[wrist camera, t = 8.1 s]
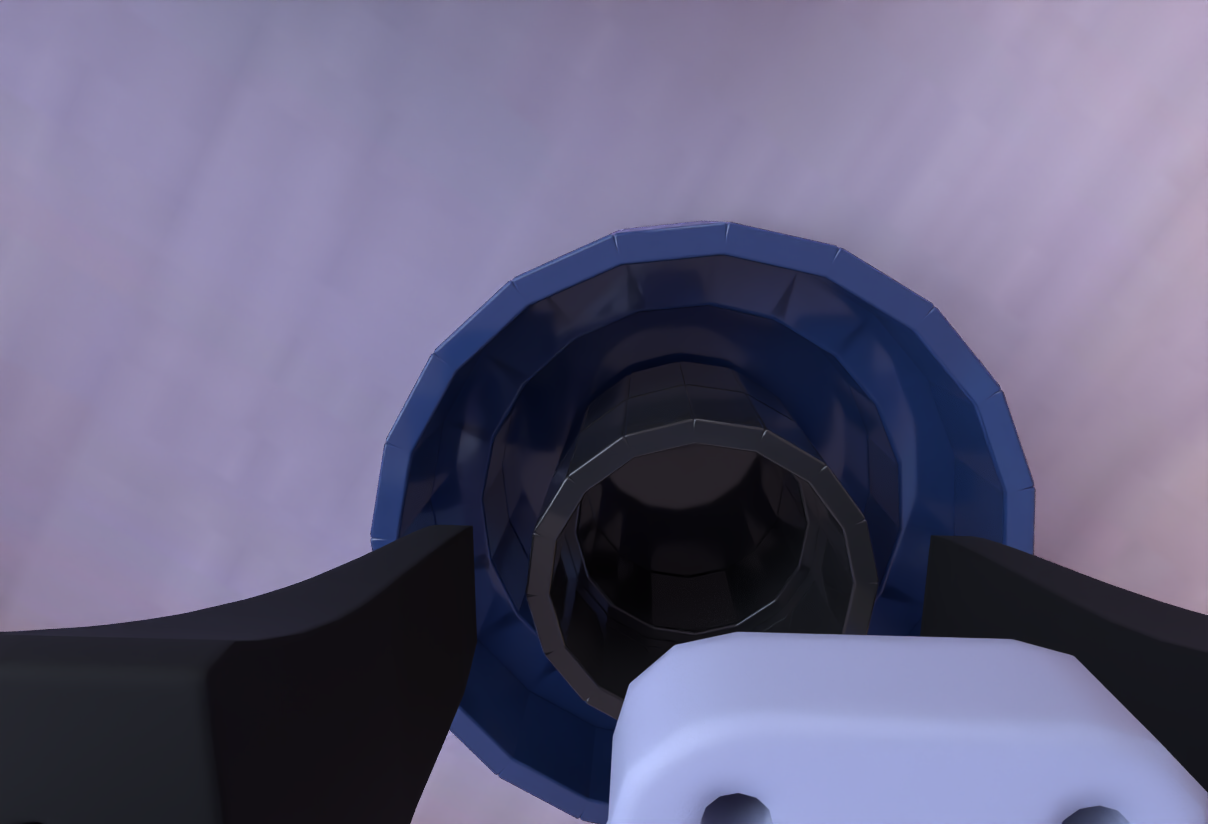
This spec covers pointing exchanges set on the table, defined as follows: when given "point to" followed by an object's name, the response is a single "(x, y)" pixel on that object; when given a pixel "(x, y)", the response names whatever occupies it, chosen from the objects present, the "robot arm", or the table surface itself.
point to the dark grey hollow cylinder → (689, 530)
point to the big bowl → (706, 336)
